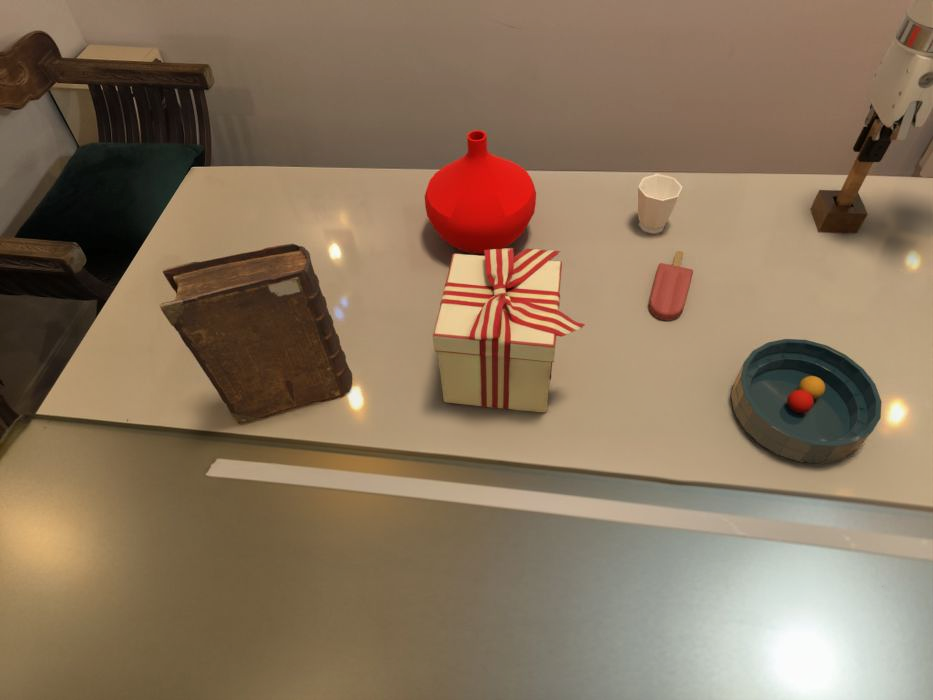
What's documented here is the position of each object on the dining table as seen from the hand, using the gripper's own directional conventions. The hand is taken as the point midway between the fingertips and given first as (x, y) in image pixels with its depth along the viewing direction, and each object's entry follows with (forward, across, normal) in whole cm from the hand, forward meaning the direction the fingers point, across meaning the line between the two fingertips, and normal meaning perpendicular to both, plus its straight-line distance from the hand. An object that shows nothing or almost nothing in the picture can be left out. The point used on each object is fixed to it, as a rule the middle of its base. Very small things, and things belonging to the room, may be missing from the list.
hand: (866, 155), depth 92 cm
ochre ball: (+11, -37, +12) cm, 40 cm away
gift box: (+13, -34, +52) cm, 63 cm away
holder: (+13, 0, 0) cm, 13 cm away
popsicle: (+13, -17, +28) cm, 35 cm away
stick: (+11, 0, 0) cm, 11 cm away
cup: (+13, -1, +30) cm, 33 cm away
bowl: (+13, -39, +14) cm, 43 cm away
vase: (+13, -6, +59) cm, 61 cm away
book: (+13, -42, +82) cm, 93 cm away
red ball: (+11, -39, +14) cm, 43 cm away
